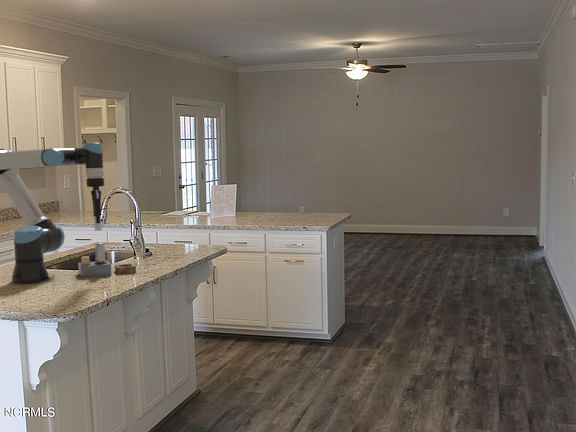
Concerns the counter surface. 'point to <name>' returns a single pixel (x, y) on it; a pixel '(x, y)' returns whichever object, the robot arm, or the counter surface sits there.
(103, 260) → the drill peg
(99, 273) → the chuck block
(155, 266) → the counter surface
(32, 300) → the counter surface
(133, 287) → the counter surface
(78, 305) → the counter surface
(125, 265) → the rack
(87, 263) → the tan rectangular block
